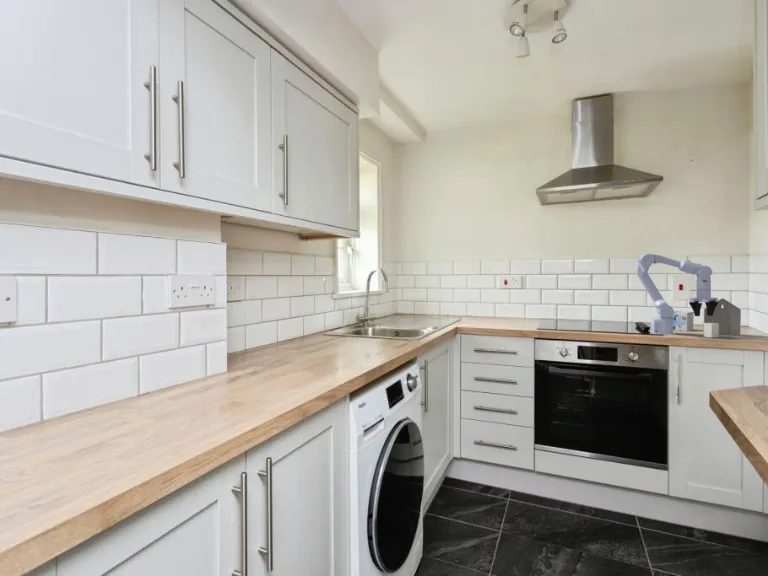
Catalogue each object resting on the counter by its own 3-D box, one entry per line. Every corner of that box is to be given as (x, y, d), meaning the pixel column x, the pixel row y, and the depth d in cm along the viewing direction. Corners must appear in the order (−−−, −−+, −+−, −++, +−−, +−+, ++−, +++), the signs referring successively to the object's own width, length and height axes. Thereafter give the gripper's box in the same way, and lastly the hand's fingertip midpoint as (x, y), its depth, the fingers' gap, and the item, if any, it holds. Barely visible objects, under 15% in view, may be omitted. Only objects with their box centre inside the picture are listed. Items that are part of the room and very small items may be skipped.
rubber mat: (699, 339, 192) (699, 338, 192) (690, 335, 204) (690, 334, 203) (740, 341, 186) (740, 340, 186) (729, 337, 198) (729, 336, 198)
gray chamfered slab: (730, 333, 211) (731, 297, 210) (740, 336, 203) (741, 298, 202) (695, 332, 214) (696, 297, 214) (703, 334, 207) (704, 298, 206)
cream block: (711, 338, 192) (711, 323, 192) (703, 337, 196) (703, 322, 196) (718, 338, 193) (718, 323, 192) (710, 336, 197) (710, 322, 196)
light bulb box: (666, 329, 229) (666, 310, 228) (672, 328, 232) (673, 310, 232) (687, 331, 219) (687, 312, 219) (693, 330, 222) (694, 311, 222)
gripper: (698, 289, 196) (698, 317, 196) (723, 289, 198) (723, 316, 198) (685, 289, 203) (685, 315, 203) (710, 288, 205) (710, 315, 205)
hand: (703, 316), depth 201 cm, fingers open, 7 cm apart
